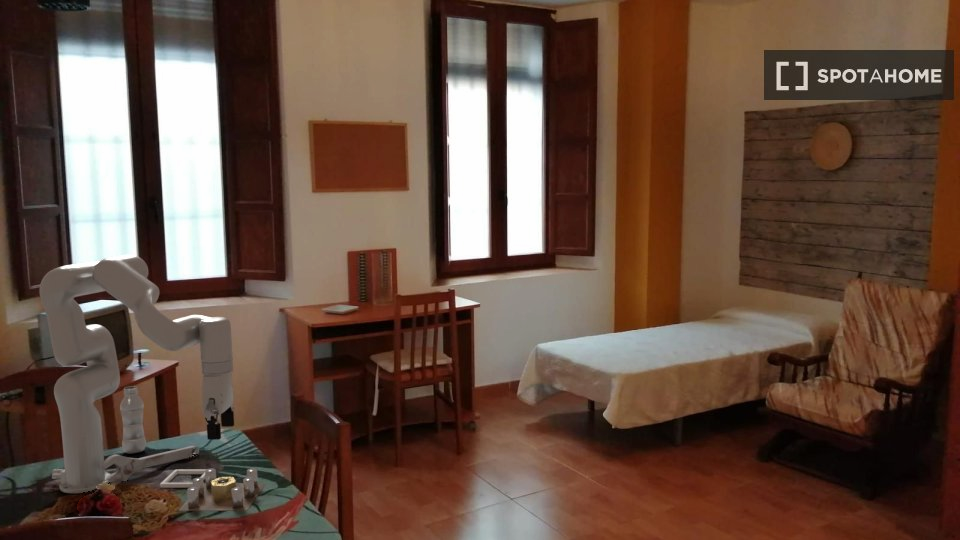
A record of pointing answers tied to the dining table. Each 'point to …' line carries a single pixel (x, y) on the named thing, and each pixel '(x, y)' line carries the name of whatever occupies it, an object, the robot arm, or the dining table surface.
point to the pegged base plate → (237, 492)
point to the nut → (222, 488)
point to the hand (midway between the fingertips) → (221, 432)
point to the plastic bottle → (132, 421)
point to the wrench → (143, 462)
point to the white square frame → (181, 485)
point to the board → (211, 505)
